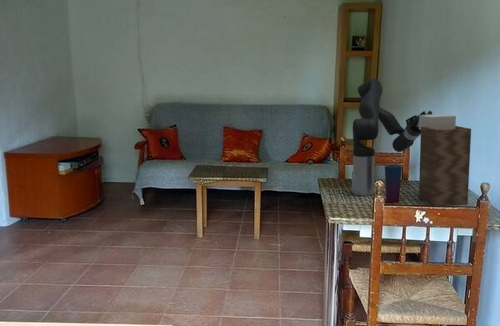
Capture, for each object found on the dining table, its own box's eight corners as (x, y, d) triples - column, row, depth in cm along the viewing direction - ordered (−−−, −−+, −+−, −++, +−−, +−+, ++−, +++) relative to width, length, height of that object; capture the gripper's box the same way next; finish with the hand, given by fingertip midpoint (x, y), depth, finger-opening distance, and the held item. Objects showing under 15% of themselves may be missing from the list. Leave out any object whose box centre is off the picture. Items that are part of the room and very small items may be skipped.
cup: (404, 202, 190) (405, 166, 187) (390, 204, 188) (390, 167, 185) (394, 198, 196) (395, 163, 193) (380, 200, 194) (381, 165, 192)
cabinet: (432, 205, 183) (435, 130, 178) (418, 197, 197) (420, 126, 192) (467, 204, 184) (471, 128, 179) (451, 195, 198) (454, 125, 192)
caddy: (429, 131, 188) (430, 117, 187) (410, 127, 208) (410, 113, 207) (455, 130, 188) (455, 116, 187) (433, 126, 209) (433, 112, 208)
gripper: (398, 122, 219) (410, 105, 203) (427, 121, 219) (441, 104, 203) (400, 137, 216) (413, 121, 200) (430, 136, 217) (445, 120, 200)
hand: (427, 113), depth 202 cm, fingers closed on caddy, 2 cm apart
